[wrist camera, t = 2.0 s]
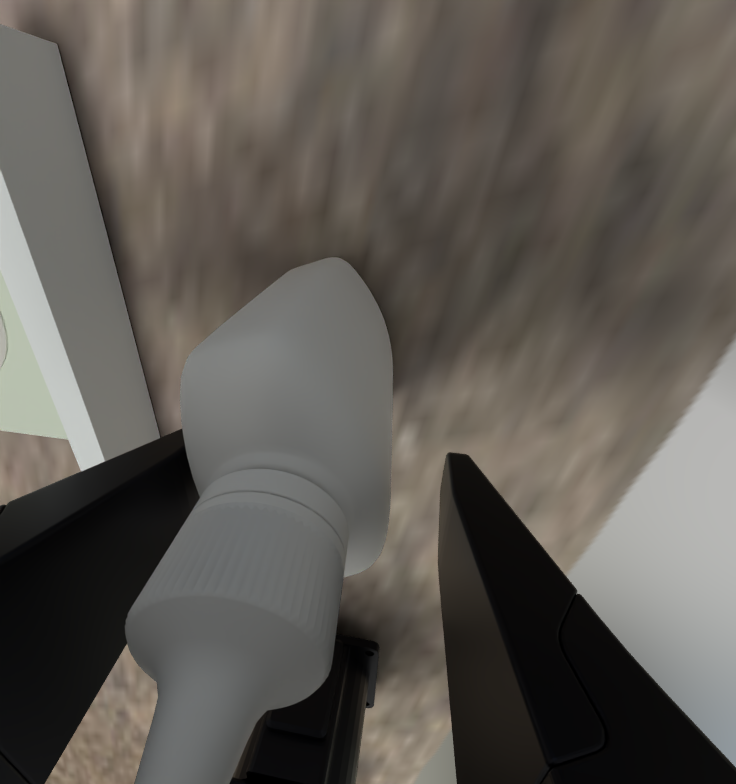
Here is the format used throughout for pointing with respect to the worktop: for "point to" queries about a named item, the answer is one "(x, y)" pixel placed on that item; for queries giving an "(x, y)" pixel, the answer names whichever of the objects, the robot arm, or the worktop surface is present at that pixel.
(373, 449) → the eye dropper bottle
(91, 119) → the worktop surface
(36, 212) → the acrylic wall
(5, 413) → the pad
